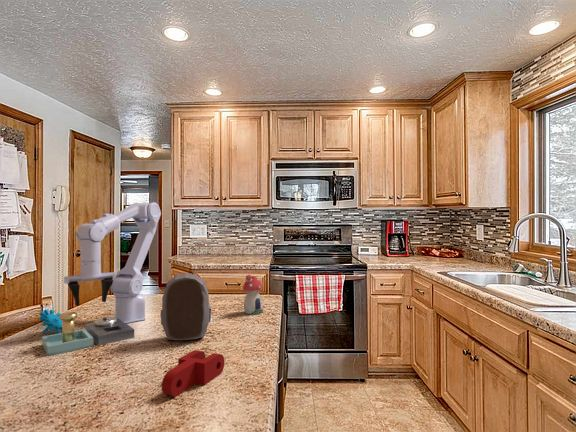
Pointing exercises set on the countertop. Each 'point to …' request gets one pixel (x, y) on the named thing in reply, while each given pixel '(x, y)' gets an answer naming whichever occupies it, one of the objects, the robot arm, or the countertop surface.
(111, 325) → the grey flat block
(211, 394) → the countertop surface
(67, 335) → the pin
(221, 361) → the mechanical linkage
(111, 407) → the countertop surface
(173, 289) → the small grey backpack
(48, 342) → the pin tray
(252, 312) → the decorative ornament
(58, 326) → the gear
